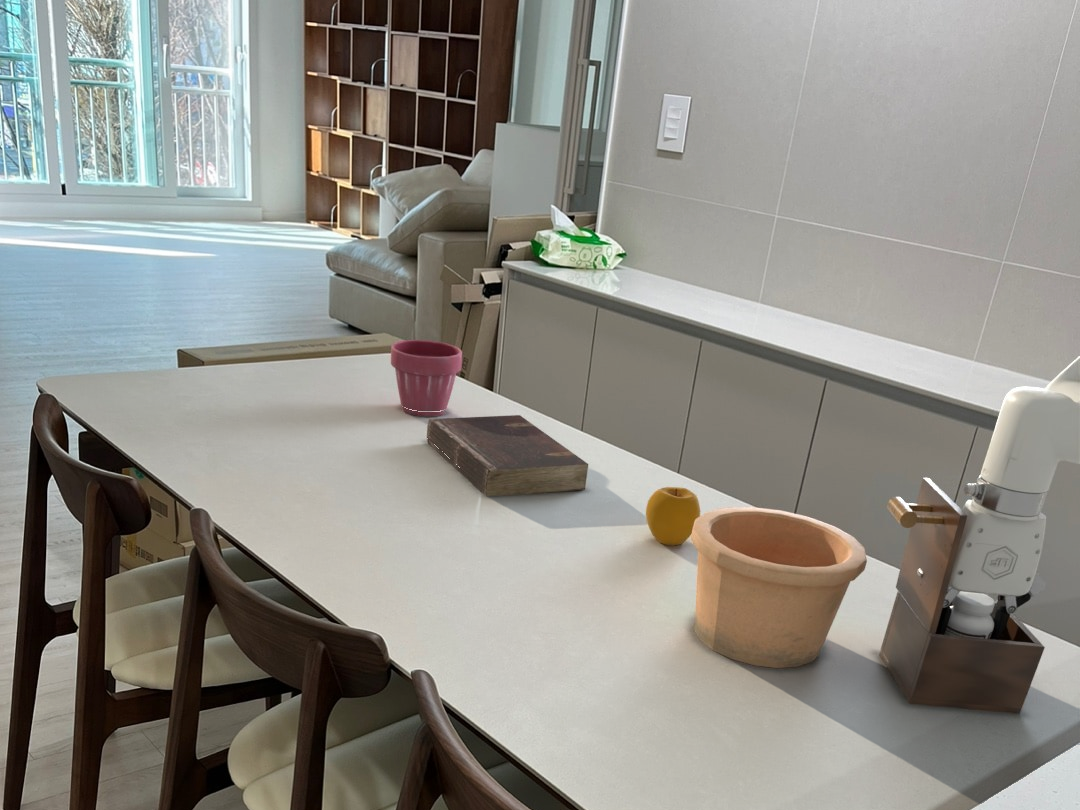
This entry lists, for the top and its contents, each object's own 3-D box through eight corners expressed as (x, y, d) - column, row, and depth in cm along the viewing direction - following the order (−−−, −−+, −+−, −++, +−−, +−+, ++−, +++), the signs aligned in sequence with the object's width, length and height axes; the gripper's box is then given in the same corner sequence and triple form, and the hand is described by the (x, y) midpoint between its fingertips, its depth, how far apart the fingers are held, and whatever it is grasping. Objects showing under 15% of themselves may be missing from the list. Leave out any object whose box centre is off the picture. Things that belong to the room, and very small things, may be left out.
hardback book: (426, 443, 199) (427, 417, 197) (517, 440, 207) (519, 415, 204) (485, 497, 176) (487, 468, 174) (584, 491, 184) (588, 464, 182)
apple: (664, 527, 173) (673, 475, 169) (706, 545, 168) (716, 492, 164) (630, 537, 167) (639, 484, 163) (672, 556, 162) (681, 501, 158)
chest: (980, 664, 140) (1002, 600, 136) (1019, 715, 129) (1045, 647, 125) (878, 655, 140) (897, 590, 135) (909, 705, 128) (931, 636, 124)
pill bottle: (944, 660, 138) (969, 583, 132) (985, 682, 133) (1012, 603, 128) (914, 670, 134) (939, 591, 129) (955, 692, 130) (982, 612, 125)
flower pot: (420, 424, 209) (424, 359, 203) (374, 406, 217) (376, 343, 211) (472, 414, 219) (477, 352, 213) (425, 397, 227) (429, 337, 221)
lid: (929, 478, 128) (881, 475, 128) (967, 515, 117) (916, 512, 117) (901, 587, 135) (856, 585, 135) (935, 633, 124) (886, 630, 123)
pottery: (640, 621, 141) (657, 520, 134) (752, 591, 154) (772, 497, 147) (761, 695, 126) (787, 586, 120) (873, 656, 139) (903, 555, 132)
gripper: (947, 501, 119) (904, 642, 127) (1096, 516, 120) (1043, 655, 128) (925, 479, 125) (885, 615, 134) (1066, 494, 126) (1018, 627, 135)
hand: (963, 633), depth 131 cm, fingers closed on pill bottle, 6 cm apart
